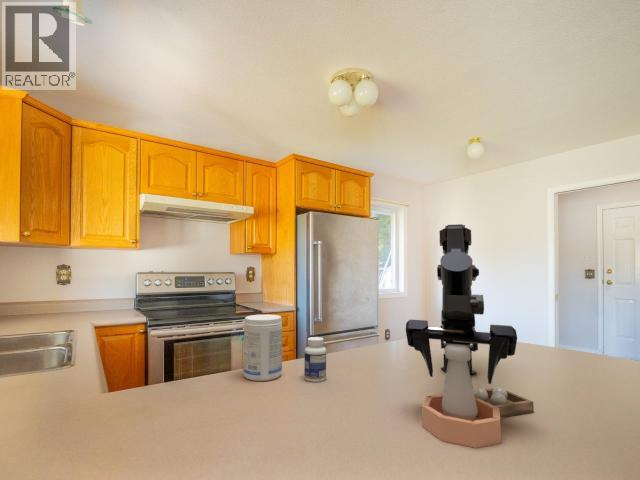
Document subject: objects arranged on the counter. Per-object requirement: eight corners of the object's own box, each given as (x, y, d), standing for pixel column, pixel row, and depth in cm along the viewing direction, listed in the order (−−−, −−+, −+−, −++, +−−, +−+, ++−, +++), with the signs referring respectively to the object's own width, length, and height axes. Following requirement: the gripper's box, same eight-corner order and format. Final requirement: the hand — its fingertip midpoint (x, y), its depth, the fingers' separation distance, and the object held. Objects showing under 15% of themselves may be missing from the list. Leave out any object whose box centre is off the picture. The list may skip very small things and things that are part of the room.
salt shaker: (460, 413, 62) (458, 340, 63) (486, 426, 57) (483, 347, 58) (434, 418, 60) (433, 343, 61) (458, 432, 54) (456, 350, 56)
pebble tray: (499, 397, 72) (499, 387, 72) (533, 412, 64) (533, 401, 65) (461, 402, 69) (461, 392, 69) (492, 419, 61) (492, 408, 61)
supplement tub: (277, 368, 91) (278, 313, 92) (286, 379, 82) (287, 318, 83) (240, 372, 88) (242, 314, 89) (245, 384, 79) (247, 320, 80)
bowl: (463, 409, 65) (463, 391, 66) (518, 439, 54) (517, 416, 54) (410, 417, 62) (410, 398, 62) (456, 451, 50) (456, 427, 51)
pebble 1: (480, 399, 69) (480, 385, 69) (491, 404, 67) (491, 389, 67) (469, 400, 68) (469, 386, 69) (480, 406, 66) (480, 391, 66)
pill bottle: (303, 375, 85) (304, 336, 86) (324, 375, 86) (325, 336, 87) (304, 382, 80) (305, 340, 81) (327, 382, 81) (327, 340, 81)
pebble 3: (498, 404, 67) (498, 389, 67) (510, 410, 64) (510, 394, 64) (487, 406, 66) (487, 391, 66) (499, 411, 63) (498, 396, 63)
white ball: (499, 397, 70) (499, 384, 70) (511, 403, 67) (510, 388, 68) (489, 399, 69) (488, 385, 69) (500, 404, 67) (499, 390, 67)
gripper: (406, 278, 67) (398, 346, 56) (513, 280, 60) (528, 358, 49) (411, 313, 74) (405, 381, 62) (508, 319, 67) (520, 396, 56)
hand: (459, 379), depth 57 cm, fingers open, 9 cm apart
